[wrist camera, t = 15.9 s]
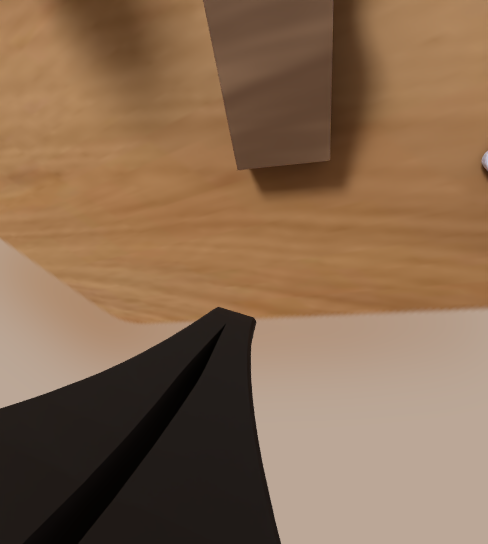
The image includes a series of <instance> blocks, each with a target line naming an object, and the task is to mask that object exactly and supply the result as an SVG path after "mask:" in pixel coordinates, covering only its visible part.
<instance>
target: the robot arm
mask: <svg viewBox="0 0 488 544" xmlns="http://www.w3.org/2000/svg"><path fill="white" fill-rule="evenodd" d="M482 165H483V166H484V168H485V169H486V170H487V171H488V151H487V152H486V153H485V154H484V156H483V158H482ZM255 325H256V320H255V319H254V318H253V317H250V316H247V315H243V314H240V313H237V312H234V311H230V310H227V309H224V308H220V307H217V308H215V309H213V310H212V311H210V312H209V313H207V314H206V315H204V316H203V317H201V318H200V319H198V320H197V321H195V322H194V323H192V324H191V325H189V326H188V327H186V328H184V329H183V330H181V331H180V332H178V333H176V334H175V335H173V336H172V337H170V338H168V339H166V340H164V341H163V342H161V343H159V344H157V345H156V346H154V347H152V348H150V349H148V350H146V351H144V352H143V353H141V354H139V355H137V356H135V357H133V358H131V359H129V360H127V361H125V362H123V363H120V364H118V365H116V366H114V367H112V368H109V369H107V370H105V371H103V372H101V373H98V374H96V375H93V376H91V377H89V378H86V379H84V380H81V381H78V382H75V383H73V384H70V385H67V386H65V387H62V388H60V389H57V390H54V391H52V392H49V393H46V394H43V395H40V396H38V397H35V398H32V399H29V400H26V401H23V402H19V403H16V404H13V405H10V406H7V407H4V408H1V409H0V544H281V542H280V538H279V534H278V530H277V526H276V522H275V518H274V513H273V509H272V505H271V500H270V495H269V491H268V486H267V482H266V478H265V473H264V468H263V463H262V458H261V452H260V447H259V441H258V435H257V429H256V422H255V416H254V406H253V398H252V384H251V343H252V338H253V333H254V330H255Z"/></svg>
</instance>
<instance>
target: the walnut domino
mask: <svg viewBox="0 0 488 544" xmlns="http://www.w3.org/2000/svg"><path fill="white" fill-rule="evenodd" d="M203 2H204V7H205V12H206V17H207V22H208V26H209V31H210V36H211V41H212V46H213V51H214V56H215V61H216V66H217V71H218V76H219V81H220V86H221V91H222V95H223V100H224V105H225V110H226V115H227V120H228V125H229V130H230V135H231V140H232V145H233V150H234V155H235V159H236V164H237V169H238V170H244V169H254V168H263V167H273V166H283V165H292V164H302V163H311V162H321V161H330V141H331V94H332V46H333V0H203Z"/></svg>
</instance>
